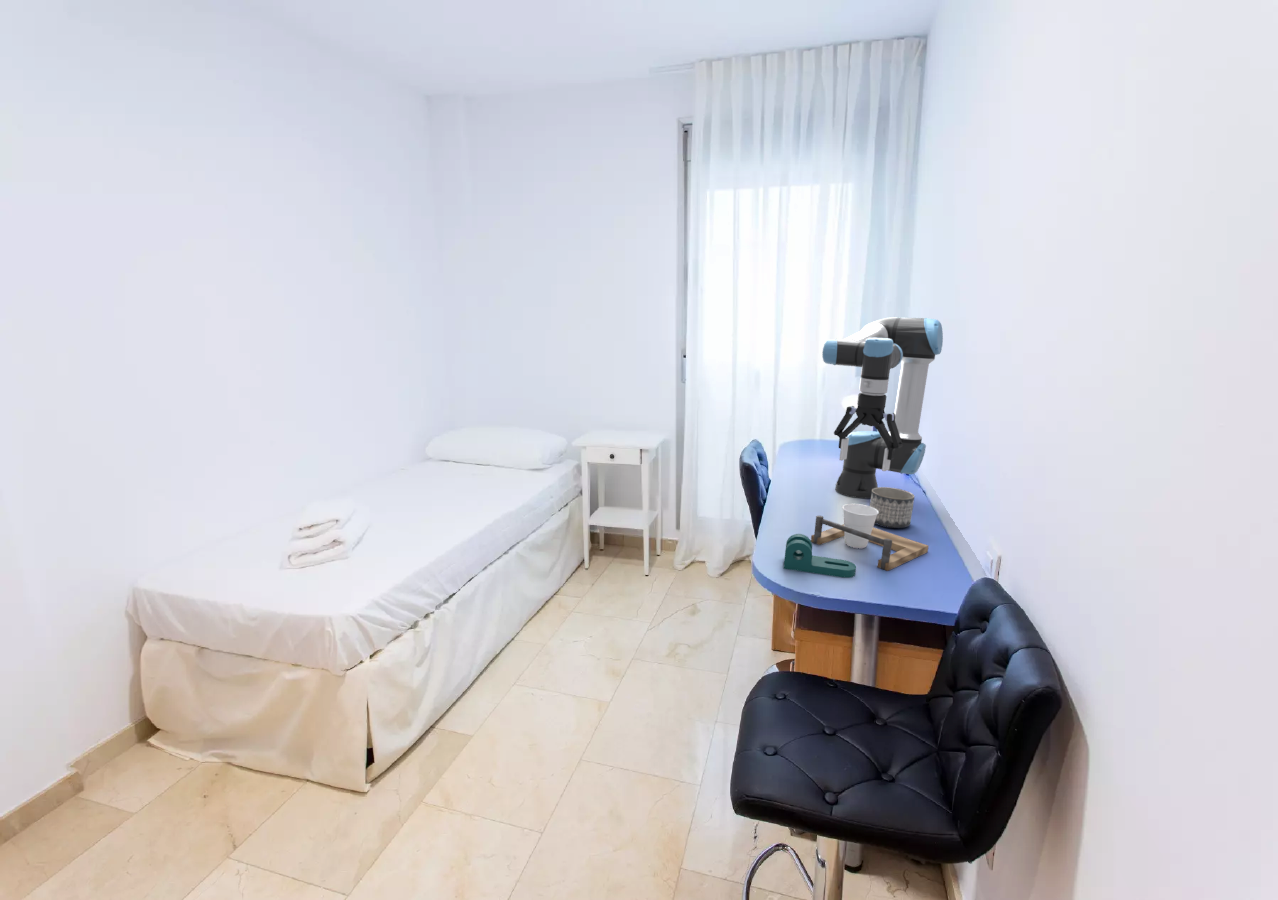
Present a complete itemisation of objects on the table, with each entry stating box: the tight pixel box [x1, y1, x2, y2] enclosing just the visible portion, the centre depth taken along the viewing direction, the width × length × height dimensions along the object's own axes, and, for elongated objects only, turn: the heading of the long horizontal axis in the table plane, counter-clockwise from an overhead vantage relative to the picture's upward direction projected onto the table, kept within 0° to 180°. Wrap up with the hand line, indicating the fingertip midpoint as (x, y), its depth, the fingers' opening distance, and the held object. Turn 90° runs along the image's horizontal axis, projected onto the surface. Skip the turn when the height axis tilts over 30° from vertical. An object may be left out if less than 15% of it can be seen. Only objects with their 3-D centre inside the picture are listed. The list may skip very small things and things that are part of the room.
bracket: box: [783, 533, 857, 579], centre depth 157 cm, size 18×7×8 cm, turn 74°
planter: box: [869, 486, 916, 529], centre depth 193 cm, size 13×13×10 cm
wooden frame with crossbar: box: [810, 515, 930, 572], centre depth 173 cm, size 22×24×8 cm
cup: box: [841, 503, 879, 550], centre depth 174 cm, size 10×10×11 cm
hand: (863, 464), depth 177 cm, fingers open, 13 cm apart
